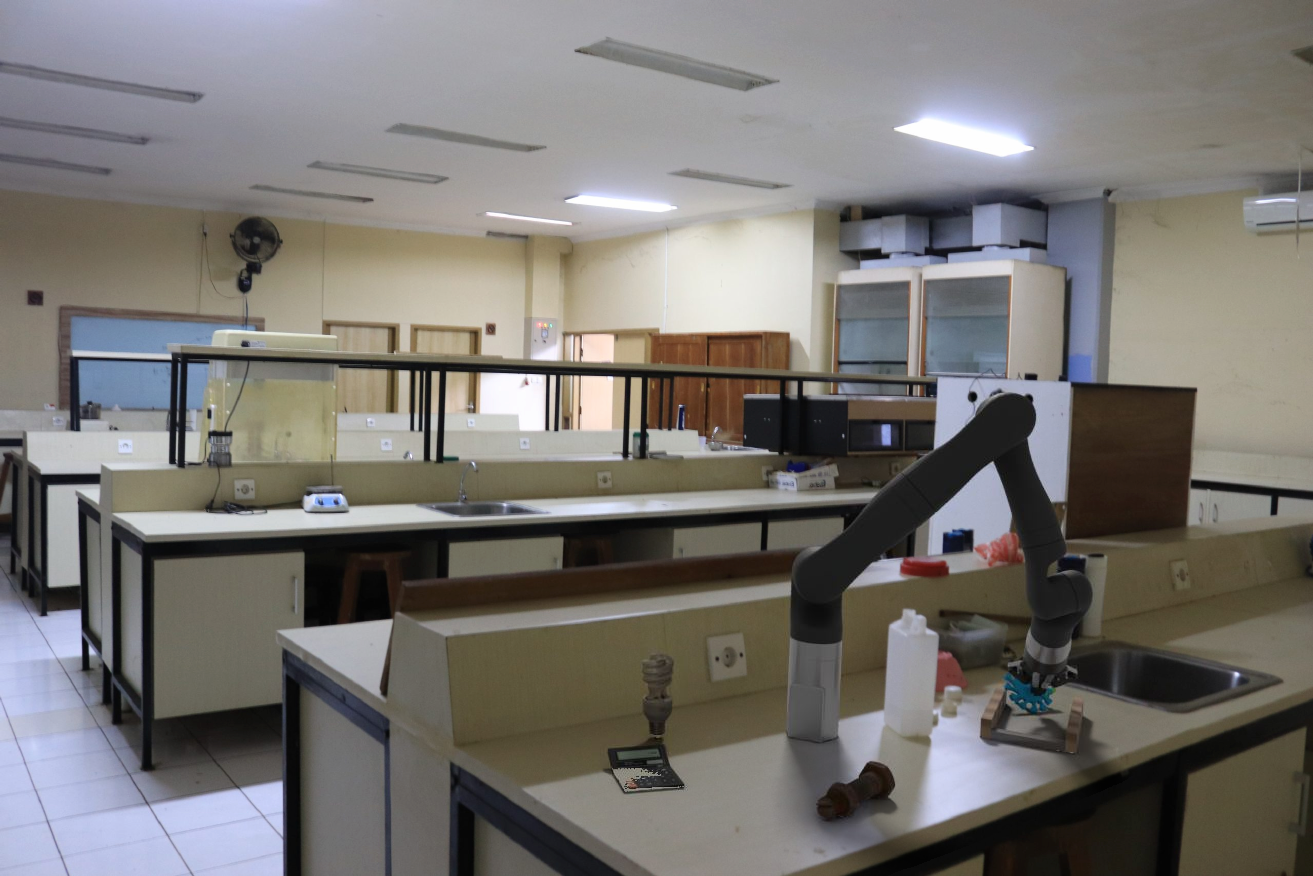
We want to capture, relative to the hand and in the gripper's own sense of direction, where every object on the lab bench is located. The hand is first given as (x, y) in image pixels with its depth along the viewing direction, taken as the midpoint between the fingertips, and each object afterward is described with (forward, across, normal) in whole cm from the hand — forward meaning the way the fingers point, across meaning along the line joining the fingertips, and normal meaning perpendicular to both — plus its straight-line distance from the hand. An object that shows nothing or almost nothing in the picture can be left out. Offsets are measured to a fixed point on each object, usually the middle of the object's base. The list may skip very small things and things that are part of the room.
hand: (1037, 692), depth 192 cm
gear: (+4, +1, +1) cm, 5 cm away
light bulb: (-26, +66, +32) cm, 78 cm away
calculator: (-38, +63, +44) cm, 86 cm away
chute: (-4, +1, +10) cm, 10 cm away
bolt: (-38, +31, +45) cm, 67 cm away
